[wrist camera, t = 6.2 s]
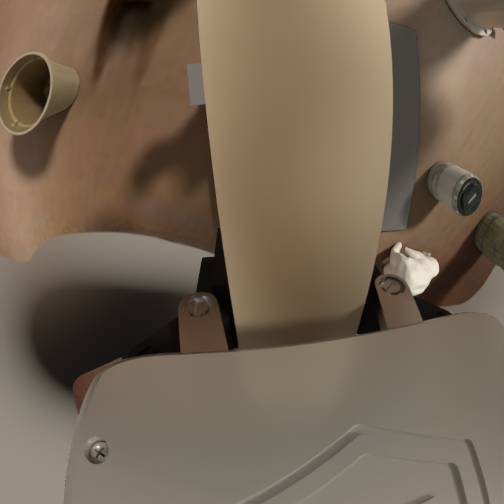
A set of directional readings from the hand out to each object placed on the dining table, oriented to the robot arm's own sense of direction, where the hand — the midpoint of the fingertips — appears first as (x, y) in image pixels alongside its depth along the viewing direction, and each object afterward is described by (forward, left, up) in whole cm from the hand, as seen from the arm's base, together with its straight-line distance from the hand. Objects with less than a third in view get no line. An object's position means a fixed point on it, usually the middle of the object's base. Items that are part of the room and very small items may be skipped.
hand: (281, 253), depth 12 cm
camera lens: (-29, +3, -22) cm, 36 cm away
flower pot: (+23, -14, -22) cm, 35 cm away
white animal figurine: (-25, +17, -22) cm, 37 cm away
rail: (0, 0, +1) cm, 1 cm away
